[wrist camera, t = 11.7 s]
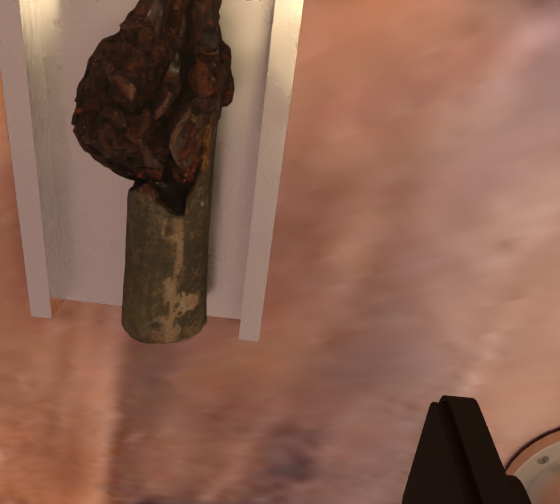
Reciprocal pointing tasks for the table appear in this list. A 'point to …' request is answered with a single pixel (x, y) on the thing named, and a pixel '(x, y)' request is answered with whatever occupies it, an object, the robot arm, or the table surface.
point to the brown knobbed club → (160, 153)
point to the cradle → (114, 189)
